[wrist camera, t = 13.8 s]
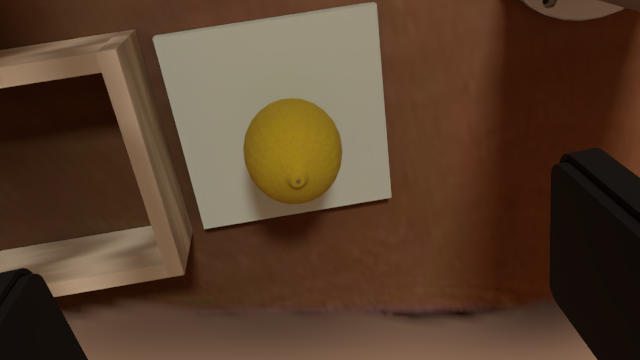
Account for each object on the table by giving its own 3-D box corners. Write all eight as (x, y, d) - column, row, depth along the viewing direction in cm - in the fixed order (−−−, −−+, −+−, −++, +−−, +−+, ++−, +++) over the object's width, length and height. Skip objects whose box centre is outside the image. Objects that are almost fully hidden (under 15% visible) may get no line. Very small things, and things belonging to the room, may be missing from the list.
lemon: (319, 171, 36) (335, 237, 29) (236, 154, 34) (231, 218, 27) (343, 93, 33) (366, 143, 26) (255, 72, 32) (255, 118, 25)
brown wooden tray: (135, 29, 31) (115, 49, 27) (192, 231, 38) (184, 274, 33) (-183, 78, 30) (-258, 107, 26) (-69, 275, 37) (-113, 325, 32)
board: (373, 1, 32) (376, 4, 31) (388, 192, 38) (391, 197, 37) (154, 35, 31) (152, 38, 31) (205, 223, 37) (204, 229, 37)
